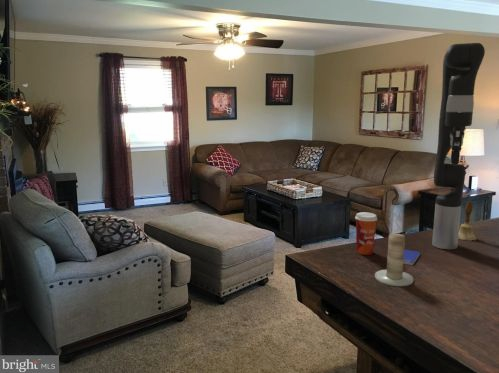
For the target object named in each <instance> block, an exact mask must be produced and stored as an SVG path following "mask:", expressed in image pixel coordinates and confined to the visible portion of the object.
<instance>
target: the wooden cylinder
mask: <svg viewBox="0 0 499 373" xmlns="http://www.w3.org/2000/svg"><path fill="white" fill-rule="evenodd" d="M405 244H406V236H405V235H404V234H402V233H401V234H400V233H389V234H388V242H387V259H386V260H387V261H386V270H387V273H386V276H387V278H389V279H393V280H400V279H402V275H403V272H404V271H403V270H404V263H403V261H404V250H405V247H406V246H405Z"/></svg>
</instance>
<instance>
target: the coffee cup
mask: <svg viewBox="0 0 499 373" xmlns="http://www.w3.org/2000/svg"><path fill="white" fill-rule="evenodd" d="M377 216H378V215H377V214H375V213H372V212H368V211H367V212H366V211H365V212H364V211H363V212H361V211H360V212H358V213H357V212H356V215H355V217H354V218H355V231H356V232H355V235H356V236H355V240H356V241H355V242H356V244H355V245H356V253H357V254H359V255H363V256H365V255H366V256H368V255H372V254H373V251H374V243H375V237H376V236H375V235H376V226H377V221H378V217H377Z"/></svg>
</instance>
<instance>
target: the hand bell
mask: <svg viewBox="0 0 499 373" xmlns="http://www.w3.org/2000/svg"><path fill="white" fill-rule="evenodd" d="M472 212H473V203H472V201H471V200H468V201H467V203H466V205H465V209H464V213H465V218H464V219H465V220H464V223H462V224H461V225H459V235H458V240H462V241H469V242H470V241H471V242H473V241H476V240H477V237H476V236H475V235H474V230H473V225H471V224H470V220H471V214H472ZM472 240H473V241H472Z"/></svg>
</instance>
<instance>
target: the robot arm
mask: <svg viewBox="0 0 499 373" xmlns="http://www.w3.org/2000/svg"><path fill="white" fill-rule="evenodd" d="M485 49H486V48H485V47H484V45H483V44H482V43H480V42H471V43H470V42H467V43H454V44H451V45H450V46H449V47H448V48H447V49H446V51H445V54H444V56H443V62H442V84H441V85H442V86H441V87H442V88H441V100H440V101H441V102H440V111H439V117H438V118H439V119H438V135H437V136H438V140H437V149H436V150H437V152H436V158H435V164H434V171H433V184H434V186H435V187H439V188H453V189H452V190H451V191H449V192H446V193H442V194H439V195H437V196H436V197H435V207H434V218H433V230H432V238H431V240H432V242H431V245H432V246H433V247H435V248H438V249H442V250H456V249H457V248H458V244H459V243H458V242H459V239H458V235H459V230H460V226H461V225H460V224H461V223H460V222H461V215H462V214H461V212H462V205H463V204H462V203H463V201H462V200H463V192H464V186H465V179H466V167H465V165H464V164H460V156H461V155H460V154H461V151H462V148H463V147H462V146H463V145H464V144H463V143H464V138H465V134H466V133H465V131H466V127H470V126H472V124H473V114H474V104H475V103H474V101H475V99H474V95H475V85H476V78H477V75H478V71H479V69H480V67H481V65H482V63H483V60H484V57H485V55H486V54H485V53H486V50H485ZM449 153H450V154H451V155H450V163H445V161H446V158H447V155H448V154H449Z"/></svg>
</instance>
